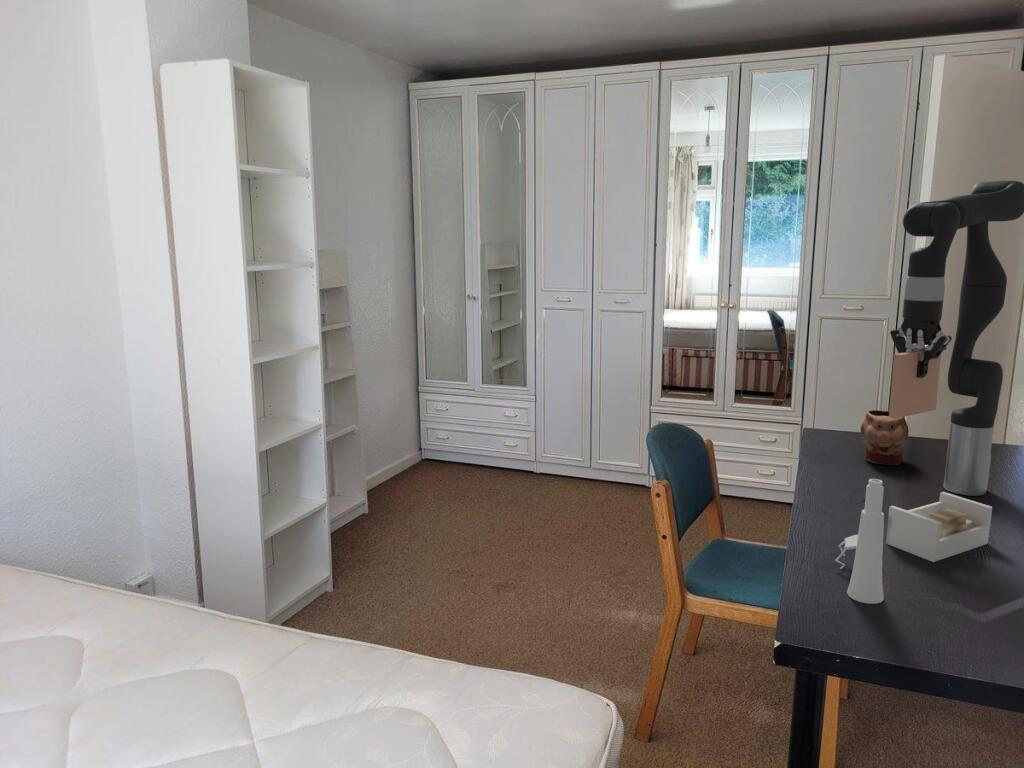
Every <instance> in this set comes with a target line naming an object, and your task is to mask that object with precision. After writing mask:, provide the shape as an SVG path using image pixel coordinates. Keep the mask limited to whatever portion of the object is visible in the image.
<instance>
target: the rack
mask: <svg viewBox="0 0 1024 768" xmlns="http://www.w3.org/2000/svg"><path fill="white" fill-rule="evenodd" d="M938 500H939V501H937V502H933V503H929V504H926V505H922V506H919V507H914V508H911V509H908V510H907V509H903V508H901V507H898V506H895V505H891V506H889V507H888V508H889V509H888V517H887V518H888V519H887V530H886V536H885V538H886V539H885V544H886V545H889V546H892V547H894V548H896V549H899V550H902V551H905V552H907V553H910V554H912V555H915V556H917V557H919V558H922V559H925V560H927V561H929V562H932V563H934V562H938V561H941V560H943V559H946V558H950V557H952V556H955V555H958V554H961V553H964V552H967V551H970V550H973V549H976V548H979V547H982V546H985V545H987V544H988V543H989V537H990V528H991V523H992V522H991V520H992V514H993V512H992V511H993V506H991V505H987V504H984V503H981V502H978V501H974V500H972V499H968V498H965V497H962V496H959V495H955V494H953V493H949V492H945V491H942V492H940V493H939V499H938ZM947 508H949V509H952V510H955V511H958V512H961V513H964V514H967V518H966V519H967V520H970V521H973V527H972V529H969V530H966V531H962V532H959V533H956V534H953V535H950V536H947V537H944V538H941V539H940V531H941V522H939V521H936V520H933V519H930V518H929V516H930V513H933V512H937V511H940V510H944V509H947Z"/></svg>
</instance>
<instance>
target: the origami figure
mask: <svg viewBox="0 0 1024 768" xmlns="http://www.w3.org/2000/svg"><path fill="white" fill-rule="evenodd" d="M857 539H858V534H853V535H850V536H848V537H844V538H843V541H842V542H841V543H840V544H839V545H838V548H839V550H840V554H839V555H838V556H837V557H836V558H835V560H834V561H836V562H837V563H839V564H840V565H841V566H840V567H839V569H840V570H842V569H843V568H844V567H845V566H846V564H845V563H844V561H845V559H847V557H845V556H846V554H845V552H846V551H847V550H856V547H857ZM843 545H844V546H843ZM842 546H843V547H842ZM842 556H843V557H844V558H843V559H841V558H842ZM840 559H841V560H842V562H841V561H840Z"/></svg>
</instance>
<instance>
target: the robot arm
mask: <svg viewBox="0 0 1024 768" xmlns="http://www.w3.org/2000/svg"><path fill="white" fill-rule="evenodd" d="M1023 215H1024V183H1023V182H1022V181H1018V180H996V181H995V180H993V181H981V182H980V181H979V182H977V183H976V184H974V186H973V187H972V188H971V190H970V194H962V195H956V196H952V197H949V198H945V199H942V200H932V201H924V202H922V201H921V202H917V203H914V204H912V205H911V206H910V207H908V208H907V210H906V211H905V213H904V215H903V218H902V225H903V229H904V230H905V232H906V233H908V234H909V235H911V236H913V237H920V238H921V237H922V238H923V237H929V238H930V237H933V239H932V241H931V243H930V244H929V245H928V246H925V247H924V246H923V247H920V248H916V249H915V248H914V249H913V250H911V251H910V253H909V258H908V266H907V267H908V269H907V278H906V283H905V287H904V297H903V298H904V299H903V309H902V319H903V321H902V323H901V325H900V327H898V328H897V329H892V330H890V332H889V333H890V337H891V339H892V340H893V341H892V342H893V343H894V346H895V348H896V351H897V354H898V353H904V352H910V351H917V350H919V356H918V359H919V361H918V365H917V375H916V376H917V378H923V377H925V375H927V373H928V364H929V360H931V359H936V358H938V357H939V356H940V354H941V355H942V353H943V352H944V350H945V349H946V348H947V347H948V345H949V343H951V341H952V339H953V337H952V336H951V335H946V334H945V333H944V332H942V326H941V324H940V323H941V320H942V316H943V306H944V298H945V287H946V286H945V275H946V266H947V258H948V255H949V251H950V249H951V246H952V244H953V241H954V240H955V239H954V238H955V236H956V234H957V231H958V230H960V229H963V228H966V247H965V248H966V250H965V258H964V267H963V273H962V280H961V287H960V294H959V295H960V296H959V304H958V305H959V307H958V308H959V309H958V317H957V324H956V332H955V337H954V343H953V347H952V352H951V357H950V362H949V365H948V366H949V367H948V373H947V386H948V390H949V391H950V392H951V393H952V394H956V395H960V396H966V397H971V398H976V403H975V405H972V406H970V407H969V406H968V407H961V408H960V407H959V408H956V409H953V410H952V412H951V416H950V423H949V424H950V425H949V431H948V433H949V434H948V443H947V452H946V460H945V467H944V469H945V470H944V478H943V489H945V490H946V491H948V492H950V493H952V494H958V495H965V496H971V497H972V496H973V497H974V496H976V497H977V496H982V495H985V494H986V491H987V490H988V485H989V476H990V470H991V469H990V468H991V460H992V453H991V451H992V444H993V436H994V426H995V421H996V416H997V413H998V409H999V408H998V407H999V403H1000V402H999V401H1000V396H1001V391H1002V386H1003V380H1004V379H1003V378H1004V370H1003V368H1002V365H1001V364H1000V363H999V362H998V361H992V360H986V359H978V358H972V357H973V351H974V349H975V346H976V343H977V341H978V339H979V337H980V336H981V334H982V333H983V332H984V331H985V330H986V328H987V327H988V326H989V325H990V324H991V323H992V322H993V321H994V320H995V319H996V317H997V316H998V315H999V314H1000V313H1001V310H1003V307H1004V305H1005V299H1006V292H1007V291H1006V290H1007V284H1008V277H1007V273H1006V272H1005V271H1006V270H1005V269H1004V267H1003V266H1002V263H1001V262H1000V260H999V258H998V257H997V255H996V254H995V251H994V250H993V248H992V245H991V242H990V236H989V222H1011V221H1015V220H1017V219H1019V218H1020V217H1022V216H1023ZM934 340H935V344H934ZM933 344H934V345H933Z"/></svg>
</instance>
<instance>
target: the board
mask: <svg viewBox="0 0 1024 768" xmlns="http://www.w3.org/2000/svg"><path fill="white" fill-rule="evenodd" d="M918 356H919V350H917V351H910V352H904V353H898V352H897V353H894V354H893V361H892V362H893V363H892V374H891V386H890V388H891V389H890V398H889V399H890V400H889V408H888V409H889V410H888V411H889V417H891V418H895V419H896V418H900V417H905V418H906V417H909V416H914V415H919V414H923V413H927V412H931V411H936V410H937V403H938V402H937V401H938V390H939V380H940V378H939V377H940V370H941V369H940V368H941V357H942V353H941V354H940V356H939V357H938V358H936V359H931V360H929V364H928V373H927V375H925V377H923V378H917V376H916V375H917V365H918V361H919V359H918Z"/></svg>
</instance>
